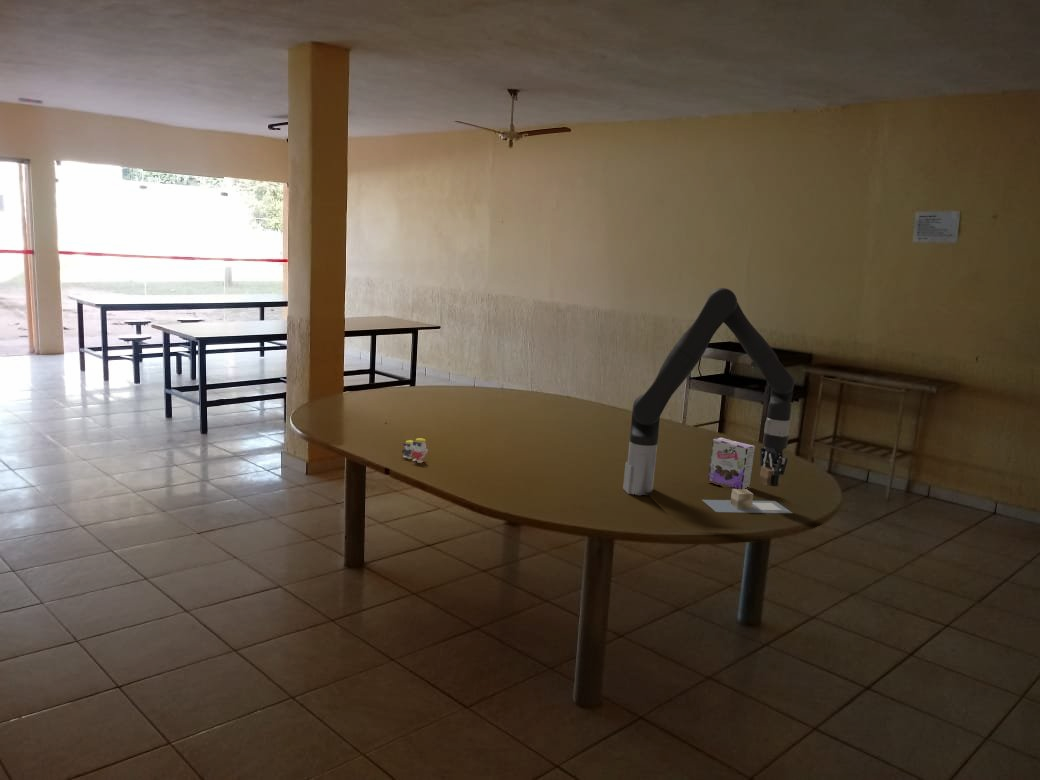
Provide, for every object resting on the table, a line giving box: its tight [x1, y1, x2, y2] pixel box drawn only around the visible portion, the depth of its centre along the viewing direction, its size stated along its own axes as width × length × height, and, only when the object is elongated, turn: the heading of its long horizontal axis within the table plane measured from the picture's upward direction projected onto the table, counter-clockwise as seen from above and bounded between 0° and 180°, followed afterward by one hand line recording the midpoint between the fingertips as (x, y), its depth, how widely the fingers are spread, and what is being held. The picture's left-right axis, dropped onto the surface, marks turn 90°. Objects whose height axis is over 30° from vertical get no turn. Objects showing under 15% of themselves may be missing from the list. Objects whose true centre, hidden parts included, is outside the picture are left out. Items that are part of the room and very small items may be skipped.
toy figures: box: [401, 437, 429, 464], centre depth 286 cm, size 12×4×8 cm, turn 46°
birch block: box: [730, 488, 754, 509], centre depth 255 cm, size 5×5×5 cm
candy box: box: [707, 437, 756, 489], centre depth 280 cm, size 14×6×16 cm, turn 45°
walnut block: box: [758, 466, 783, 487], centre depth 255 cm, size 5×5×5 cm
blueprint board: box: [701, 499, 793, 514], centre depth 256 cm, size 26×12×1 cm, turn 100°
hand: (769, 483), depth 256 cm, fingers closed on walnut block, 5 cm apart
